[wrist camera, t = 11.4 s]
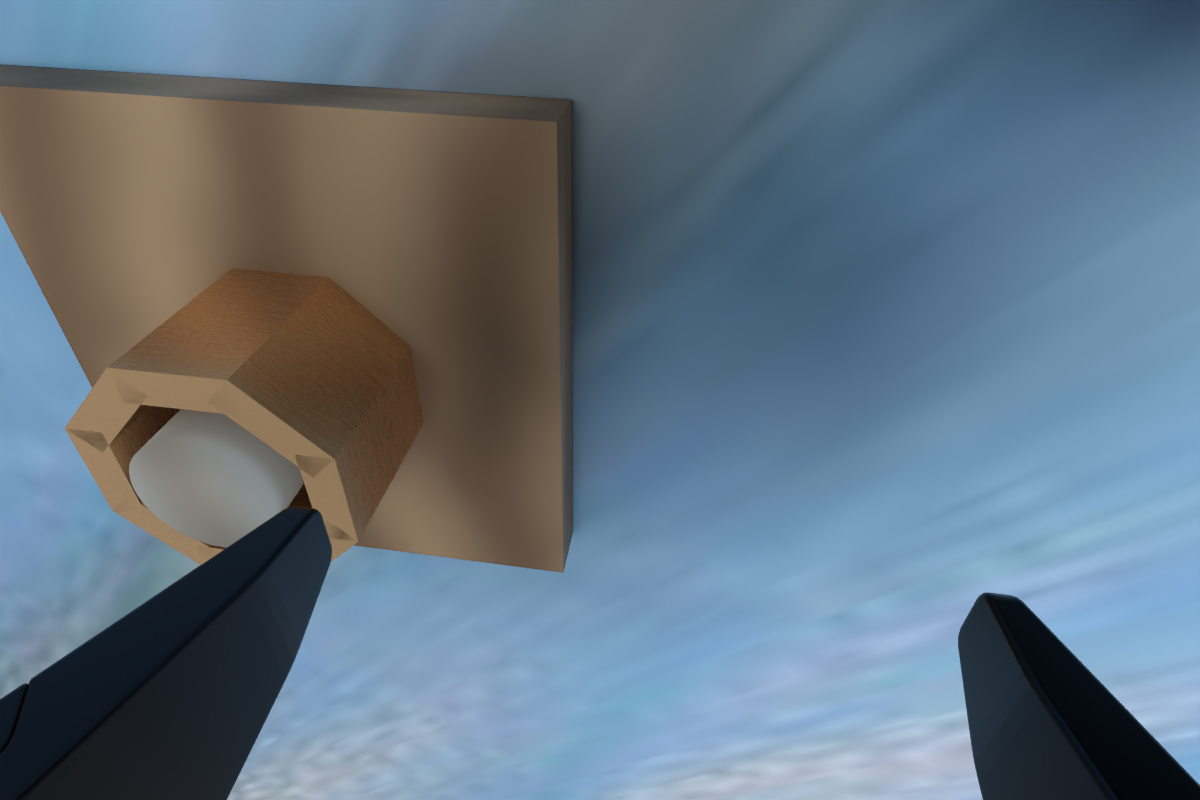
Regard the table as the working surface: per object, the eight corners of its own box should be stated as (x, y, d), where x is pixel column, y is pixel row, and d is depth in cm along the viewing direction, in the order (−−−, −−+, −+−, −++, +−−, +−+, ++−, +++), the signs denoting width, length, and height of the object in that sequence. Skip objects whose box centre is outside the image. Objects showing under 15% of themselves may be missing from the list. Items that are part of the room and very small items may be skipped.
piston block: (571, 100, 17) (493, 215, 12) (572, 532, 27) (530, 715, 21) (-2, 64, 19) (-330, 149, 13) (192, 484, 29) (54, 642, 23)
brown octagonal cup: (399, 283, 19) (314, 389, 15) (432, 470, 23) (372, 591, 19) (164, 262, 20) (24, 358, 16) (237, 447, 24) (141, 559, 20)
